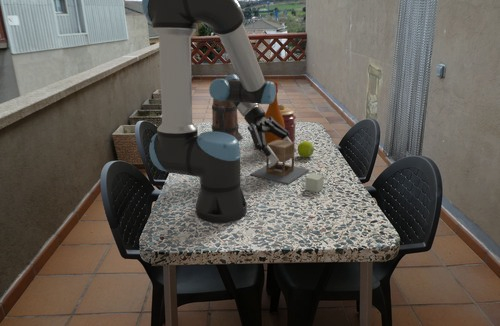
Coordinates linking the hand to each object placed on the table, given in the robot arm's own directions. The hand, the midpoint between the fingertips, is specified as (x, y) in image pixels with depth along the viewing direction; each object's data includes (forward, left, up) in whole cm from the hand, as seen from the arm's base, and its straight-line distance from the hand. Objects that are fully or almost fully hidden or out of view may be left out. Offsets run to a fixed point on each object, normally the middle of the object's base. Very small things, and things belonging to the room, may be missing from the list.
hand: (286, 157), depth 143 cm
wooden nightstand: (-1, +2, -6) cm, 7 cm away
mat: (-1, +2, -7) cm, 7 cm away
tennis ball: (+19, +10, -7) cm, 23 cm away
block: (-1, -16, -7) cm, 17 cm away
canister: (+25, +33, -7) cm, 42 cm away
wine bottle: (+13, +24, -7) cm, 28 cm away
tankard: (+5, +51, -7) cm, 52 cm away
